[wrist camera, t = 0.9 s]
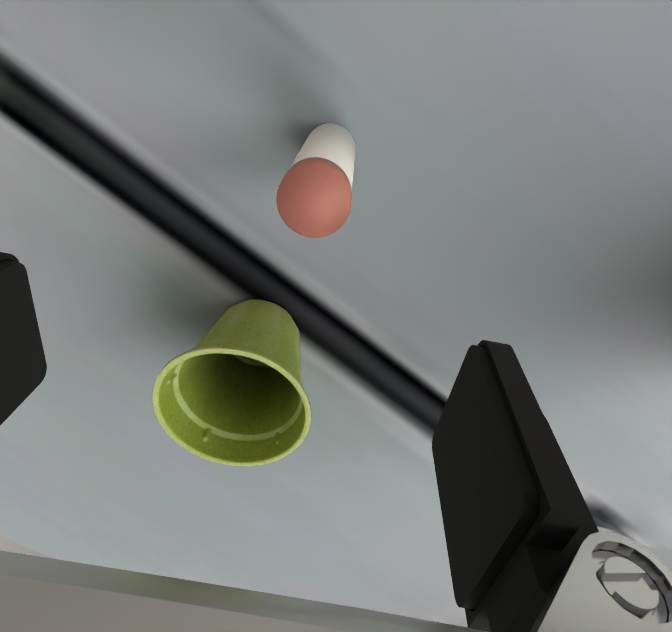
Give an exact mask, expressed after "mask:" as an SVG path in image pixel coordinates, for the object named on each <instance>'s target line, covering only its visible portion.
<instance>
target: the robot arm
mask: <svg viewBox="0 0 672 632" xmlns="http://www.w3.org/2000/svg"><path fill="white" fill-rule="evenodd" d="M46 370H47V365H46V360H45V355H44V351H43V346H42V341H41V337H40V332H39V327H38V323H37V318H36V313H35V309H34V304H33V299H32V295H31V290H30V285H29V281H28V276H27V271H26V268H25V267H24V265H23V264H21V263H19V261H18V259H17V258H16V257H15V256H14V255H12V254H8V253H2V252H0V425H1V424H2V423H3V422H4V421H5V420H6V419H7V418H8V417H9V416H10V415H11V414H12V413H13V411H14V410H15V409H16V408H17V407H18V406H19V405H20V404H21V403H22V402H23V401H24V400H25V399H26V398H27V397H28V396H29V395H30V394H31V393H32V392H33V390H34V389H35V388H36V387H37V386H38V385H39V384H40V383H41V382H42V381H43V379H44V377H45V374H46ZM432 451H433V458H434V464H435V471H436V478H437V484H438V491H439V497H440V504H441V510H442V517H443V524H444V530H445V537H446V543H447V550H448V556H449V563H450V569H451V576H452V583H453V589H454V596H455V600H456V603H457V605H458V606H459V607H462V608H465V612H466V618H467V624H468V628H466V627H461V626H455V625H450V624H444V623H439V622H433V621H428V620H422V619H417V618H411V617H406V616H400V615H395V614H389V613H384V612H378V611H373V610H367V609H361V608H355V607H349V606H343V605H337V604H331V603H325V602H319V601H312V600H306V599H300V598H294V597H288V596H282V595H276V594H270V593H264V592H257V591H251V590H245V589H239V588H233V587H227V586H221V585H215V584H208V583H202V582H196V581H190V580H184V579H177V578H171V577H165V576H158V575H152V574H146V573H139V572H133V571H127V570H121V569H114V568H108V567H102V566H95V565H89V564H83V563H76V562H70V561H63V560H57V559H51V558H44V557H38V556H31V555H25V554H18V553H12V552H6V551H0V632H484V631H487V632H672V572H670V570H669V569H668V568H667V567H666V566H665V565H664V564H663V563H662V561H660V559H658V558H657V557H656V556H655V555H653V554H652V553H651V552H650V551H649V550H647V549H646V548H645V547H643V546H642V545H640V544H638V543H636V542H635V541H633V540H631V539H629V538H627V537H624V536H621V535H619V534H616V533H611V532H599V531H598V529H597V527H596V524H595V522H594V520H593V518H592V516H591V514H590V512H589V509H588V507H587V505H586V503H585V501H584V499H583V496H582V494H581V492H580V490H579V488H578V486H577V484H576V481H575V479H574V477H573V475H572V473H571V471H570V469H569V466H568V464H567V462H566V460H565V458H564V456H563V453H562V451H561V449H560V447H559V445H558V443H557V441H556V438H555V436H554V434H553V432H552V430H551V428H550V425H549V423H548V421H547V420H546V418H545V417H544V415H543V413H542V411H541V409H540V407H539V405H538V403H537V400H536V398H535V396H534V394H533V392H532V390H531V387H530V385H529V383H528V381H527V379H526V377H525V374H524V372H523V370H522V368H521V366H520V364H519V361H518V359H517V357H516V355H515V353H514V351H513V348H512V347H511V346H510V345H508V344H502V343H497V342H491V341H486V340H482V341H481V342H480V343H479V344H478V346H476V345H471V346H470V347H469V349H468V351H467V354H466V356H465V359H464V361H463V363H462V366H461V368H460V371H459V373H458V376H457V378H456V381H455V383H454V385H453V388H452V390H451V393H450V395H449V398H448V400H447V403H446V405H445V407H444V410H443V412H442V415H441V417H440V420H439V422H438V424H437V427H436V429H435V432H434V435H433V440H432ZM480 630H481V631H480Z"/></svg>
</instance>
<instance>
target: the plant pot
mask: <svg viewBox="0 0 672 632" xmlns="http://www.w3.org/2000/svg"><path fill="white" fill-rule="evenodd" d="M244 356H245V357H244ZM246 357H249V358H253V359H256V360H250V359H248V358H246ZM152 402H153V407H154V411H155V414H156V416H157V419H158V421H159V422H160V424H161V426H162V427H163V429H164V430H165V431H166V432H167V434H168V435H169V436H170V437H171V438H172V439H173V440H174V441H176V442H177V443H178V444H179V445H181V446H182V447H183V448H185V449H186V450H188V451H190V452H191V453H193V454H195V455H197V456H200V457H202V458H204V459H206V460H209V461H213V462H217V463H221V464H226V465H233V466H256V465H263V464H267V463H271V462H274V461H277V460H279V459H281V458H283V457H285V456H286V455H288V454H290V453H291V452H293V451H294V450H295V449H296V448H297V447H298V446H299V445H300V444H301V443H302V442H303V440H304V438H305V436H306V435H307V432H308V430H309V426H310V421H311V409H310V403H309V399H308V397H307V394H306V392H305V390H304V388H303V385H302V382H301V370H300V335H299V330H298V328H297V326H296V324H295V322H294V321H293V319H292V317H291V316H290V314H289V313H288V312H287V311H286V310H284V309H283V308H281V307H280V306H278V305H276V304H274V303H272V302H268V301H264V300H254V299H253V300H247V301H244V302H241V303H239V304H236V305H234V306H231V307H230V308H229V309H228V310H227V311H226V312H225V313H224V314H223V315H222V316H221V317H220V319H219V320H218V321H217V322H216V323H215V325H214V326H213V327H212V328H211V329H210V331H209V332H208V333H207V334H206V335H205V336H204V337H203V339H202V340H201V341H200V342H199V343H198V344H197V345H196V346H195V347H194V348H192V349H191V350H189V351H187V352H184V353H182V354H180V355H179V356H177V357H175V358H174V359H172V360H171V361H170V362H169V363H167V364H166V366H165V367H164V368H163V369H162V370H161V372H160V373H159V375H158V377H157V379H156V381H155V384H154V387H153V393H152Z"/></svg>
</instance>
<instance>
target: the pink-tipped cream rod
mask: <svg viewBox="0 0 672 632" xmlns="http://www.w3.org/2000/svg"><path fill="white" fill-rule="evenodd" d="M354 160H355V143H354V140H353V138H352V136H351V134H350V133H349V132H348V131H347V130H346V129H345V128H344V127H342V126H340V125H338V124H334V123H326V124H322V125H319V126H318V127H316V128H315V129H314V130H312V132H311V133H310V134H309V136H308V137H307V139H306V141H305V143H304V144H303V146H302V148H301V150H300V151H299V153H298V155H297V156H296V158H295V160H294V162H293V163H292V165H291V167H290V168H289V170H288V171H287V173H286V174H285V176H284V178H283V179H282V181H281V183H280V185H279V188H278V191H277V207H278V211H279V214H280V216H281V218H282V219H283V221H284V222H285V223H286V225H287V226H288V227H289V228H291V229H292V230H293V231H295V232H296V233H298V234H300V235H303V236H307V237H313V238H318V237H324V236H327V235H330V234H332V233H334V232H336V231H337V230H338V229H339V228H340V227H341V226H342V225H343V224H344V223H345V221H346V220H347V218H348V215H349V212H350V208H351V198H352V182H353V171H354Z"/></svg>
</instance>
